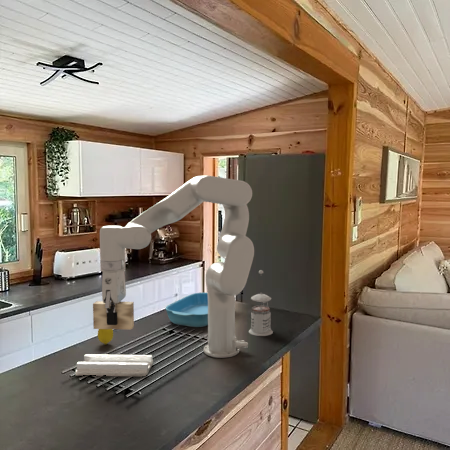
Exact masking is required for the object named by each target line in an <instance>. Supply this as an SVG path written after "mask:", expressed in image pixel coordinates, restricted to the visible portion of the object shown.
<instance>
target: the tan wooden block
mask: <svg viewBox="0 0 450 450" xmlns="http://www.w3.org/2000/svg"><path fill="white" fill-rule="evenodd" d="M134 305H135V304H134V301H121V302H119V303H118V304H116V312H117V325H107V312H106V308H105V303H103V300H101V301H98V300H97V301H95V302H93V304H92V314H93V315H92V320H93V330H99V329H113V330H132V329H133V328H134V327H135V322H134V321H135V313H134V312H135V311H134ZM112 306H113V305H112Z"/></svg>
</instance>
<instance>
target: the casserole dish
mask: <svg viewBox="0 0 450 450" xmlns="http://www.w3.org/2000/svg"><path fill="white" fill-rule="evenodd" d="M165 311H166V314H167V316H168V319H169V321H170V322H171V323H173V324H174V325H178V326H183V327H184V326H187V327H192V328H202V327H204V328H205V327H206V326H207V327H208V294H207V292H195V293H191V294H189V295H186V296H184V297H182V298H181V299H178V300H175V301H174V302H172V303H170V304H169V305H166V306H165Z"/></svg>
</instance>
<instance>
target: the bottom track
mask: <svg viewBox="0 0 450 450" xmlns="http://www.w3.org/2000/svg"><path fill="white" fill-rule="evenodd" d="M153 364H154V360H153V355H152V354H105V353H104V354H98V353H97V354H95V353H94V354H93V353H91V354H90V353H86V354H84V355H83V361H78V362H77V363H76V370H75V376H83V375H96V376H97V377H104V376H103V375H106V376H105V377H142V376H146V375H147V376H148V374H149V372H150V370H151V369H152V366H153ZM147 376H146V377H147Z"/></svg>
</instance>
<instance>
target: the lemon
mask: <svg viewBox="0 0 450 450" xmlns="http://www.w3.org/2000/svg"><path fill="white" fill-rule="evenodd" d="M97 337H98V338H97V339H98V341H99V342H100V343H102V344H104V345H107V344H108V343H110V342H112V340H113V339H114V329H97Z"/></svg>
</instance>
